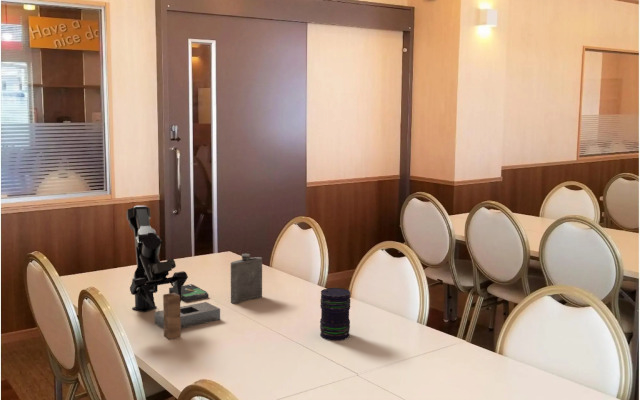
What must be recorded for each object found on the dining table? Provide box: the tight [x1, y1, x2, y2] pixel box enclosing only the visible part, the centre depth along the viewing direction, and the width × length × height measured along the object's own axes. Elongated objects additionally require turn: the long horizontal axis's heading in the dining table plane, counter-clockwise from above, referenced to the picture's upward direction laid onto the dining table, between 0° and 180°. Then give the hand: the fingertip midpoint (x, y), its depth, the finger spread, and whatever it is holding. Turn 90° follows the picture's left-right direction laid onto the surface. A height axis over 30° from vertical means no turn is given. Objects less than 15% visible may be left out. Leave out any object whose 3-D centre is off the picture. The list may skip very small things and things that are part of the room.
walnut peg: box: [162, 293, 182, 340], centre depth 219 cm, size 4×4×14 cm
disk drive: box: [168, 283, 209, 303], centre depth 266 cm, size 10×3×15 cm
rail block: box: [154, 301, 221, 329], centre depth 235 cm, size 10×20×4 cm, turn 129°
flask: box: [230, 253, 263, 305], centre depth 261 cm, size 4×14×18 cm, turn 133°
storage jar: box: [319, 287, 351, 342], centre depth 222 cm, size 10×10×15 cm
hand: (167, 304), depth 221 cm, fingers open, 9 cm apart
